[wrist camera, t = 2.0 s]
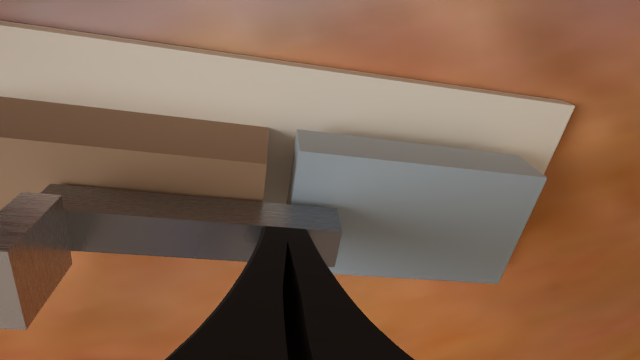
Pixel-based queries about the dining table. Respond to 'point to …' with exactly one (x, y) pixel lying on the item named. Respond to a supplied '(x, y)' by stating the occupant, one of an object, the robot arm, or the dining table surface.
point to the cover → (416, 205)
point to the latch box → (221, 115)
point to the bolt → (132, 234)
